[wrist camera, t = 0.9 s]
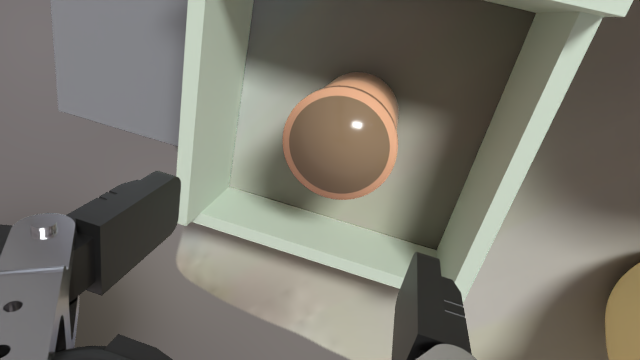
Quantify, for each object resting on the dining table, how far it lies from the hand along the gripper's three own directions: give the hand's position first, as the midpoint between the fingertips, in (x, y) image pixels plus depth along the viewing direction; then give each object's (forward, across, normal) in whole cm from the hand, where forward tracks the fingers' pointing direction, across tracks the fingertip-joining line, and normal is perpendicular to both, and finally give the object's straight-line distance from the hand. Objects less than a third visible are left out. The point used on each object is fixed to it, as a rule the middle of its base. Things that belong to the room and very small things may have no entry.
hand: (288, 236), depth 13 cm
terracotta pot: (+18, 0, 0) cm, 18 cm away
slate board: (+18, +18, 0) cm, 25 cm away
